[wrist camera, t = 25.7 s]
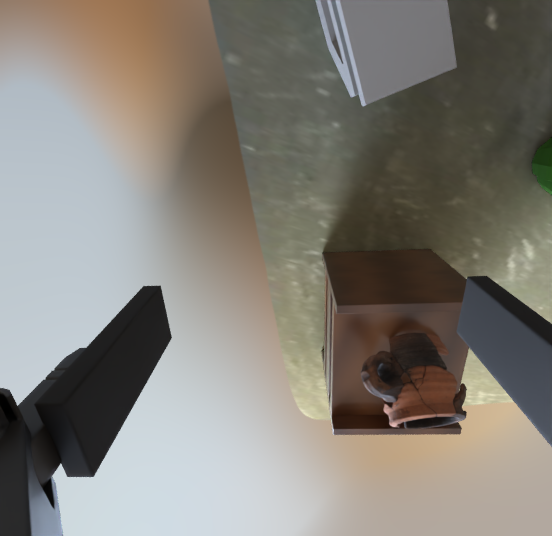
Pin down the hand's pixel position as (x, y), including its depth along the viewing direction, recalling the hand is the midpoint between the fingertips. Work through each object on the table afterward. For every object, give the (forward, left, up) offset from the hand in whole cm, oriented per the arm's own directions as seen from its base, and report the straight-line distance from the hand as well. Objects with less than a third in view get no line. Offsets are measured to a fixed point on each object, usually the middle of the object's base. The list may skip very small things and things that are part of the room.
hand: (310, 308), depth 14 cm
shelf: (-11, +18, -31) cm, 37 cm away
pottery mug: (-11, +18, -18) cm, 28 cm away
